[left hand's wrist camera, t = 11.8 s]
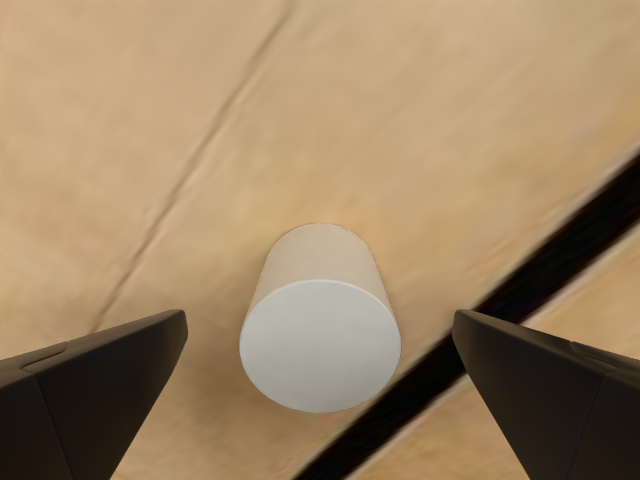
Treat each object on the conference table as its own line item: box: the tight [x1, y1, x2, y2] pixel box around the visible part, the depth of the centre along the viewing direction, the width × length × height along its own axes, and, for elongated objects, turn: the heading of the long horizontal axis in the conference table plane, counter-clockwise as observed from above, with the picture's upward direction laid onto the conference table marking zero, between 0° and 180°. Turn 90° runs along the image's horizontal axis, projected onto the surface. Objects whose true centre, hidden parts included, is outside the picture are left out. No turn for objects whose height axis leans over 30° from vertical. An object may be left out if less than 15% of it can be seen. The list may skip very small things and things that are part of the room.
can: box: [239, 223, 401, 413], centre depth 13 cm, size 5×5×5 cm
